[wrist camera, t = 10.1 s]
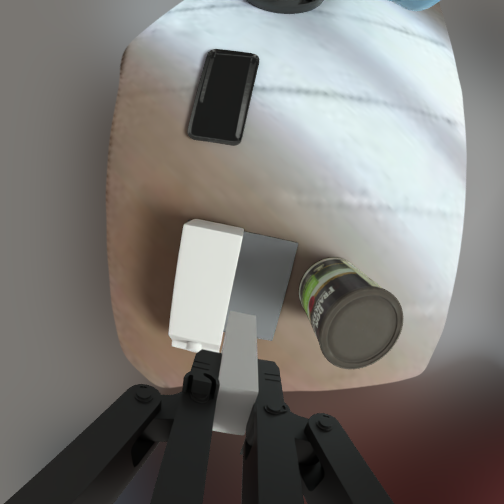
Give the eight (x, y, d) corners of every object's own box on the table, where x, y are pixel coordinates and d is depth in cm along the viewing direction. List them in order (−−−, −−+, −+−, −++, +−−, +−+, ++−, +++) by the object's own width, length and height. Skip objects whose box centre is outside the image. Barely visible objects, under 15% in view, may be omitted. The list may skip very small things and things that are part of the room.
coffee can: (291, 314, 43) (307, 366, 29) (308, 251, 41) (336, 280, 27) (350, 324, 44) (384, 371, 30) (369, 264, 42) (415, 295, 28)
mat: (188, 219, 40) (188, 219, 39) (297, 242, 41) (298, 243, 40) (173, 319, 43) (172, 320, 43) (271, 339, 44) (272, 340, 43)
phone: (260, 54, 34) (240, 146, 37) (260, 57, 35) (240, 147, 38) (208, 48, 34) (185, 137, 37) (209, 51, 35) (186, 139, 38)
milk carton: (244, 227, 40) (220, 344, 44) (194, 217, 39) (176, 334, 43) (243, 234, 33) (215, 369, 37) (183, 222, 32) (165, 358, 36)
